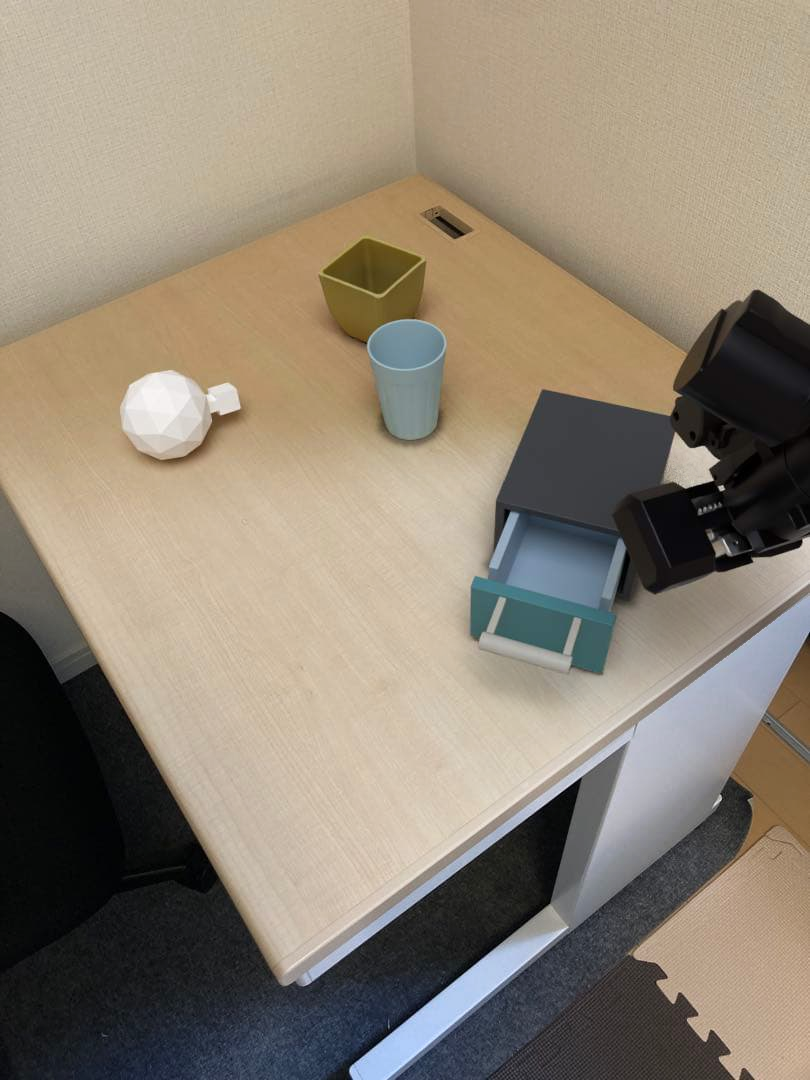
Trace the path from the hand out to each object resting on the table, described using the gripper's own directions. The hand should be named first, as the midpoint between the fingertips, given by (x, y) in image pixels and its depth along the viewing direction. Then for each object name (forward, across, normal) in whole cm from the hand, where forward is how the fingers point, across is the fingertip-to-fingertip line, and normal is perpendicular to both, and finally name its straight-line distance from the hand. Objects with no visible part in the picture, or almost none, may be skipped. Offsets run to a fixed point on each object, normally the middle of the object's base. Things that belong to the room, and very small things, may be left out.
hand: (689, 552), depth 66 cm
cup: (+27, +6, -26) cm, 38 cm away
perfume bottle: (+33, +28, -32) cm, 53 cm away
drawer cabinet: (+18, -3, -9) cm, 20 cm away
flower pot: (+33, +3, -41) cm, 52 cm away
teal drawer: (+15, +5, -1) cm, 16 cm away
